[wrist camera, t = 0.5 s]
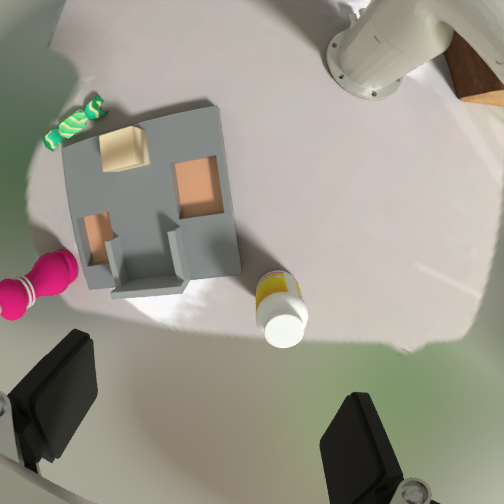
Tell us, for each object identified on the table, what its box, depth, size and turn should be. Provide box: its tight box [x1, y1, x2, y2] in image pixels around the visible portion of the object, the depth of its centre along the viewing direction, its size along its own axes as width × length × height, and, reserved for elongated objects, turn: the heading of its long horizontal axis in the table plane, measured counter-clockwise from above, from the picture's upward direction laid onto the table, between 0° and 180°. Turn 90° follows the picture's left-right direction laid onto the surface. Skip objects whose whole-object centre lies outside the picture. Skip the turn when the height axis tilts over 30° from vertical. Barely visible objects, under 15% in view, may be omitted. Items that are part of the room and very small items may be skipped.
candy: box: [42, 95, 107, 151], centre depth 37 cm, size 12×3×4 cm
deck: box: [62, 105, 242, 299], centre depth 38 cm, size 24×26×8 cm
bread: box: [444, 30, 504, 107], centre depth 24 cm, size 18×30×16 cm, turn 12°
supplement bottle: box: [256, 270, 308, 348], centre depth 39 cm, size 7×7×13 cm
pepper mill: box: [0, 250, 78, 321], centre depth 35 cm, size 7×7×20 cm
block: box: [99, 126, 150, 172], centre depth 35 cm, size 5×5×5 cm
